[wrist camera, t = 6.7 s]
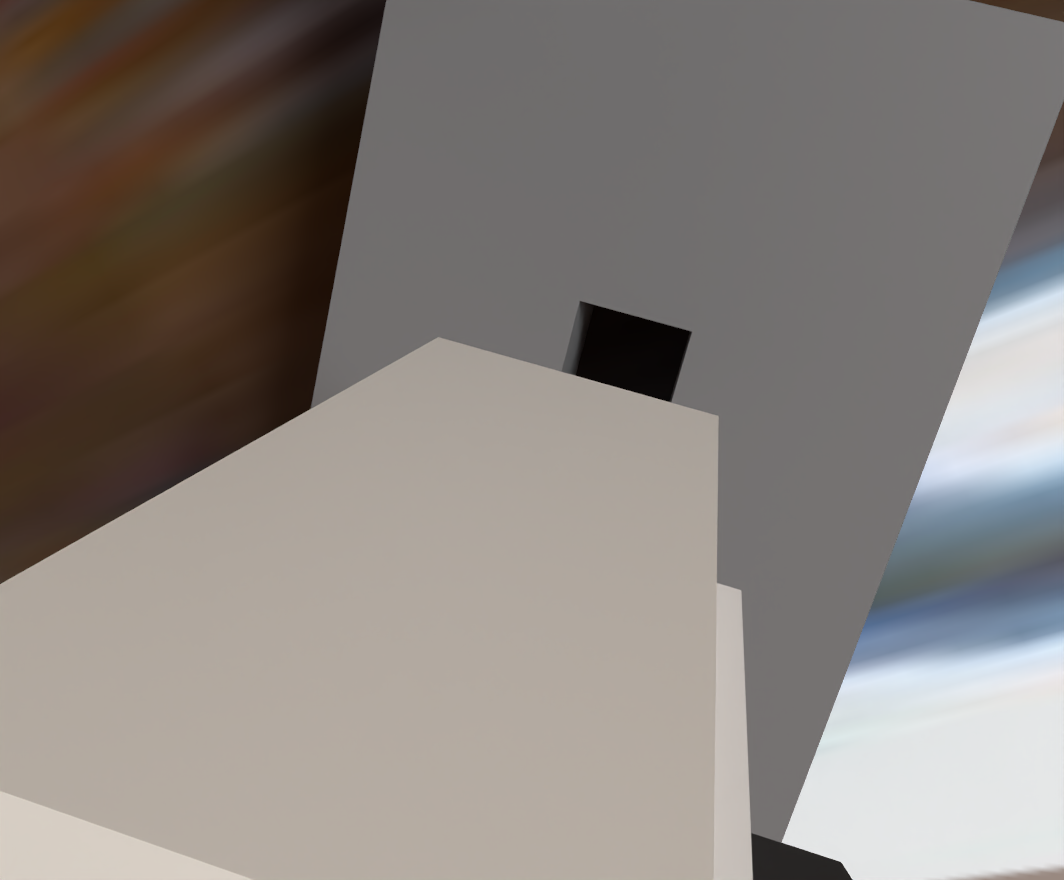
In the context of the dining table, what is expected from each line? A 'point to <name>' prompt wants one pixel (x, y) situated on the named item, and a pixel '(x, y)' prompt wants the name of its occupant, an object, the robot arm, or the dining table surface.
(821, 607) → the header
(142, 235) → the dining table surface
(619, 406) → the plug
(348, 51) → the dining table surface
